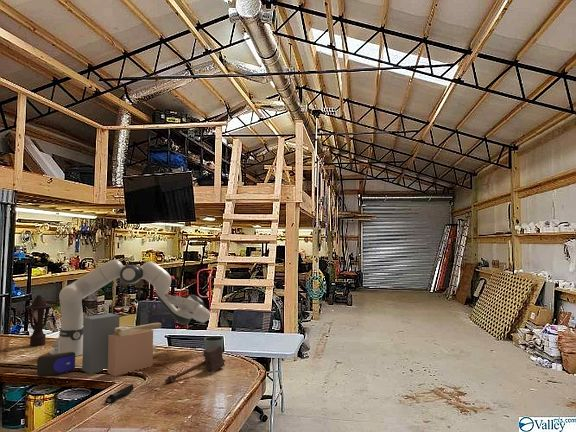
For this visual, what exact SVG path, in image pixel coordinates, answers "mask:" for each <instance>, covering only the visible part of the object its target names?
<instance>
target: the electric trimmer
mask: <svg viewBox="0 0 576 432" xmlns="http://www.w3.org/2000/svg"><path fill="white" fill-rule="evenodd" d="M133 390H134V385H133V384H130V385H128V386H126V387H124V388H122V389H120V390H118V391H116V392H114V393H113V394H109V395H108V396H107V397H106V398H105V400H104V404H105V403H113V404H114V403H115V402H116V401H117V400H120V398H122V397H126V396H128V394H130V393H131V392H132V391H133Z"/></svg>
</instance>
